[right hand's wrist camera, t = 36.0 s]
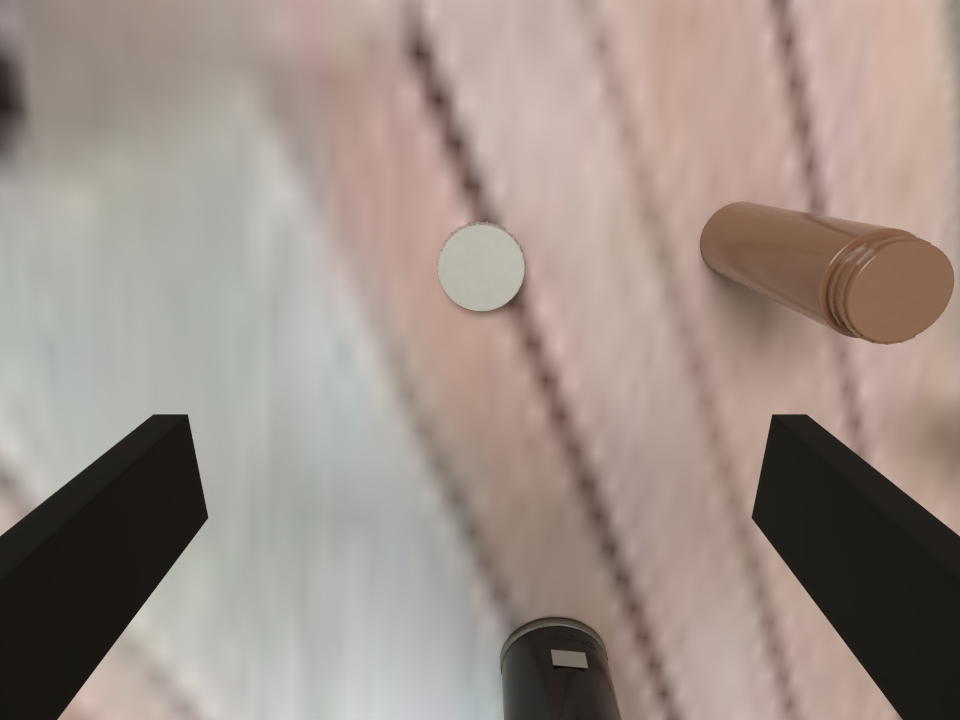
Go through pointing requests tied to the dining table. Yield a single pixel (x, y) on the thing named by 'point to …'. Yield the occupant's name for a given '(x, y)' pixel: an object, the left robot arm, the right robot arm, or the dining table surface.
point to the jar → (832, 269)
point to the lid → (481, 266)
